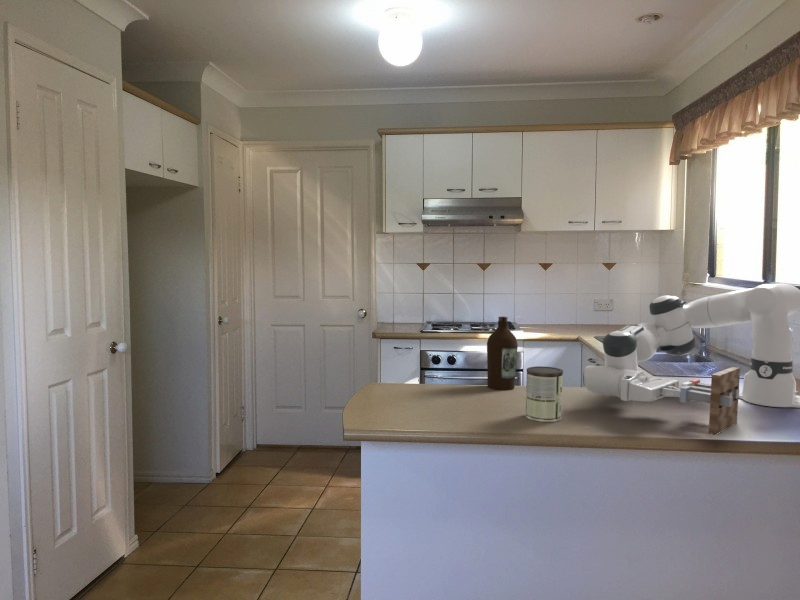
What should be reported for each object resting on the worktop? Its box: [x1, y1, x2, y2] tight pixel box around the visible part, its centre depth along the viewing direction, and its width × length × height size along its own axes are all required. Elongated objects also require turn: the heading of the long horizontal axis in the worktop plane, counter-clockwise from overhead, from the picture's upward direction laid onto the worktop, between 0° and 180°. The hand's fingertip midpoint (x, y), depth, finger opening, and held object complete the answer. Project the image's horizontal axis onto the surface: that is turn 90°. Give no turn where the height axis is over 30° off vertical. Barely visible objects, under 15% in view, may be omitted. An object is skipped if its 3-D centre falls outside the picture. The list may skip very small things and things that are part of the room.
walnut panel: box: [708, 366, 741, 435], centre depth 175 cm, size 17×2×16 cm, turn 135°
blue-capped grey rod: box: [679, 386, 733, 407], centre depth 173 cm, size 4×12×4 cm, turn 45°
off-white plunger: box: [681, 381, 732, 396], centre depth 178 cm, size 4×12×4 cm, turn 45°
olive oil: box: [486, 316, 519, 391], centre depth 222 cm, size 11×11×25 cm
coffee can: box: [525, 365, 564, 423], centre depth 183 cm, size 10×10×14 cm
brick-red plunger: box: [689, 378, 740, 399], centre depth 182 cm, size 4×12×4 cm, turn 45°
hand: (682, 393), depth 177 cm, fingers closed, pressing on blue-capped grey rod
